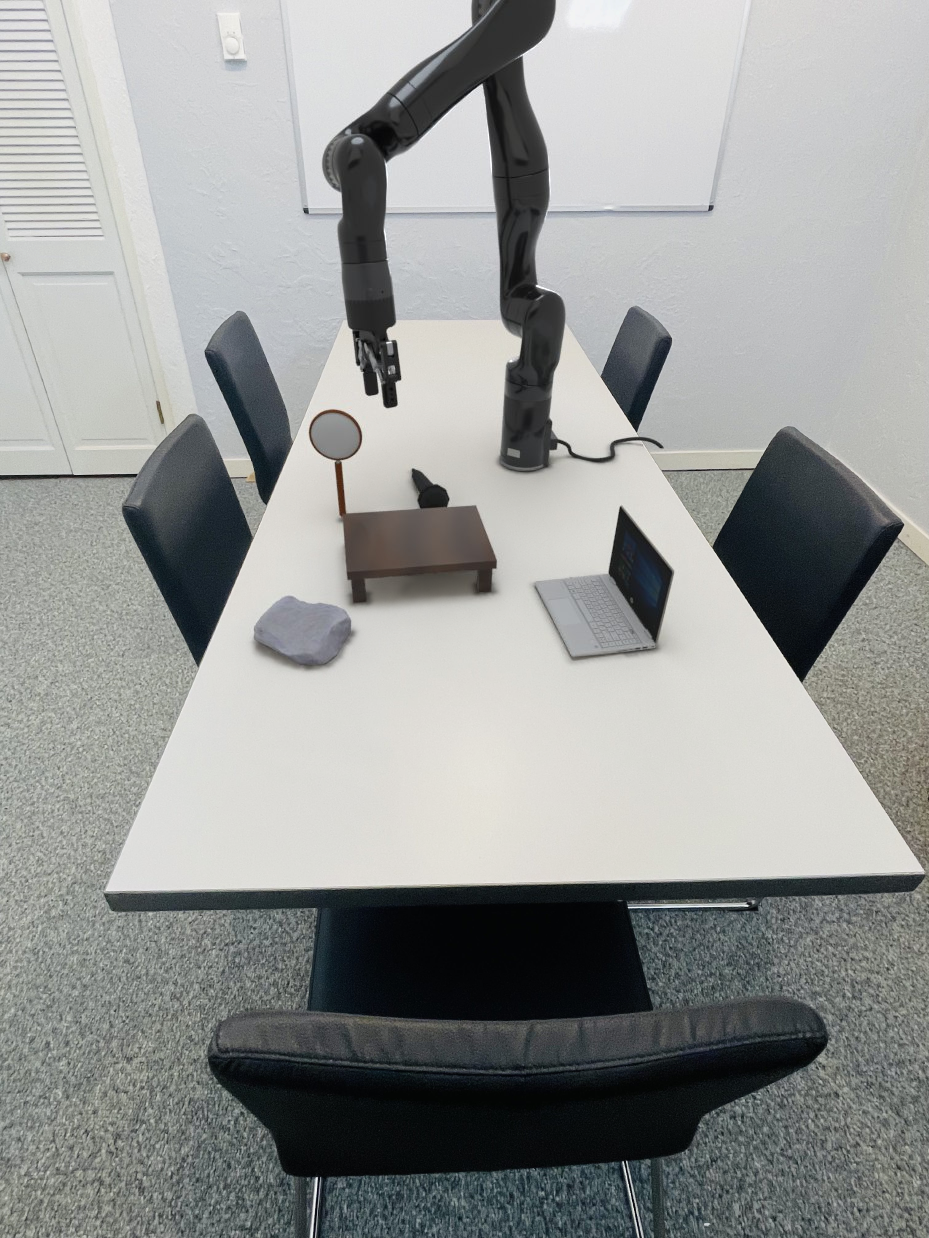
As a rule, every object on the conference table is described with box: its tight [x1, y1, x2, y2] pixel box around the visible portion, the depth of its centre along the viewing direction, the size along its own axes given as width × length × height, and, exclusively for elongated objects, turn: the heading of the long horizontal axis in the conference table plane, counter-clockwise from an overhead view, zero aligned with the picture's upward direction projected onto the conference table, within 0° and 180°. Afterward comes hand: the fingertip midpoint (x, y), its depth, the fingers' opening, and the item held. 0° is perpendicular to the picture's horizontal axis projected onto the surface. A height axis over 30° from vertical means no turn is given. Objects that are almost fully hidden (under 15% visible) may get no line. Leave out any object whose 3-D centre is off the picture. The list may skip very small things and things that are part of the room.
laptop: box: [533, 505, 675, 658], centre depth 101 cm, size 18×12×13 cm
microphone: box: [411, 467, 450, 509], centre depth 132 cm, size 6×6×20 cm
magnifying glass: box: [308, 408, 363, 521], centre depth 119 cm, size 9×2×20 cm, turn 89°
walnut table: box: [342, 504, 498, 604], centre depth 112 cm, size 22×17×6 cm
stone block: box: [253, 595, 352, 666], centre depth 98 cm, size 12×5×10 cm
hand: (381, 400), depth 117 cm, fingers open, 8 cm apart
